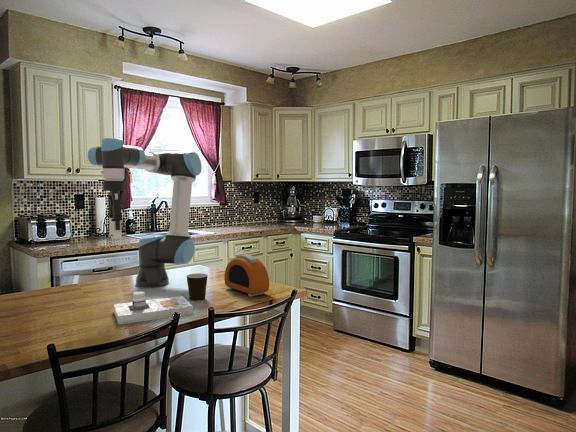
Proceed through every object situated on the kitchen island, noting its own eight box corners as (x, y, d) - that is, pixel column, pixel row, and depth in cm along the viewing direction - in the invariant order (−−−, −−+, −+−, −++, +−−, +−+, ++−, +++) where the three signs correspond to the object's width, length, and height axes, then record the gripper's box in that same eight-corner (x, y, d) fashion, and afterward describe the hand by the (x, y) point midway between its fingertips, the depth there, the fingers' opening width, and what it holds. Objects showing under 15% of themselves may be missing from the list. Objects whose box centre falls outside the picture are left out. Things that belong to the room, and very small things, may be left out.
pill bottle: (134, 313, 159) (134, 291, 158) (147, 312, 159) (147, 291, 158) (131, 317, 154) (130, 294, 153) (144, 316, 154) (143, 294, 154)
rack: (113, 312, 160) (113, 303, 159) (182, 303, 172) (182, 295, 171) (118, 324, 146) (118, 315, 145) (193, 314, 157) (193, 305, 157)
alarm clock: (223, 288, 197) (223, 252, 195) (239, 285, 203) (239, 250, 201) (253, 298, 179) (253, 259, 178) (270, 295, 185) (270, 257, 184)
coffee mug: (202, 302, 173) (202, 278, 172) (183, 301, 175) (182, 277, 174) (213, 295, 185) (213, 272, 184) (195, 293, 186) (194, 271, 185)
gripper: (99, 180, 167) (101, 233, 169) (106, 180, 145) (108, 241, 147) (120, 180, 171) (121, 232, 172) (129, 180, 149) (130, 240, 150)
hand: (115, 236), depth 160 cm, fingers open, 13 cm apart
